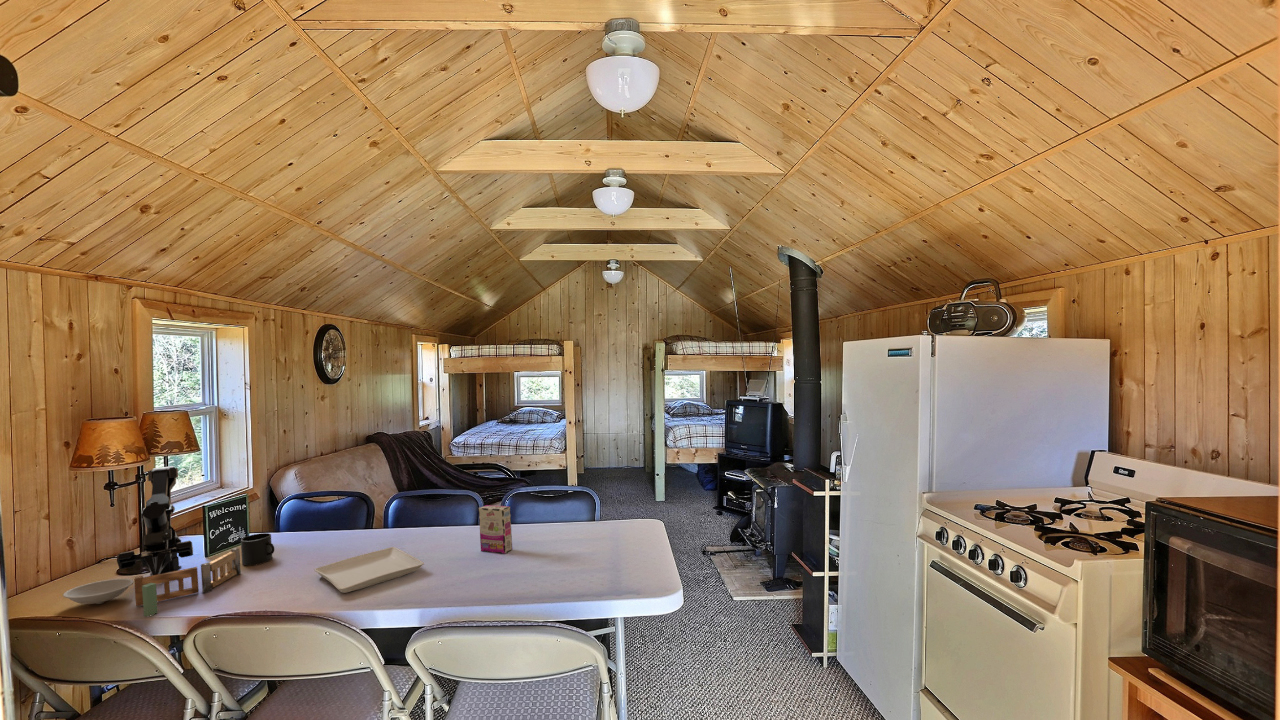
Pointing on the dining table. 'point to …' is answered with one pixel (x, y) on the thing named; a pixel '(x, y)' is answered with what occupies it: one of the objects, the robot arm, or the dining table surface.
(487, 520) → the candy bar box
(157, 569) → the robot arm
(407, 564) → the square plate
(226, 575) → the wooden fence panel
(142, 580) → the gate
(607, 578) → the dining table surface
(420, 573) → the dining table surface
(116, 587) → the dish
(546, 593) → the dining table surface
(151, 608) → the post
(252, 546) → the mug
